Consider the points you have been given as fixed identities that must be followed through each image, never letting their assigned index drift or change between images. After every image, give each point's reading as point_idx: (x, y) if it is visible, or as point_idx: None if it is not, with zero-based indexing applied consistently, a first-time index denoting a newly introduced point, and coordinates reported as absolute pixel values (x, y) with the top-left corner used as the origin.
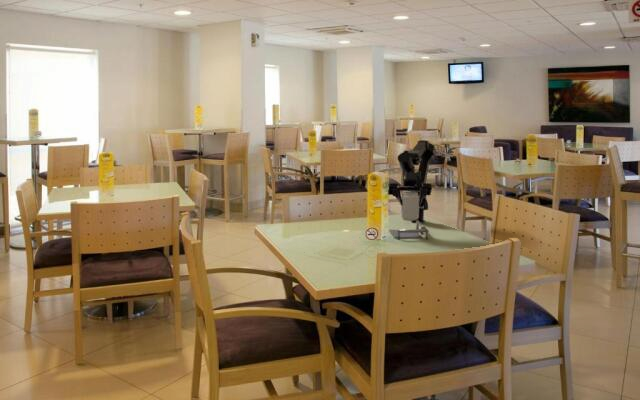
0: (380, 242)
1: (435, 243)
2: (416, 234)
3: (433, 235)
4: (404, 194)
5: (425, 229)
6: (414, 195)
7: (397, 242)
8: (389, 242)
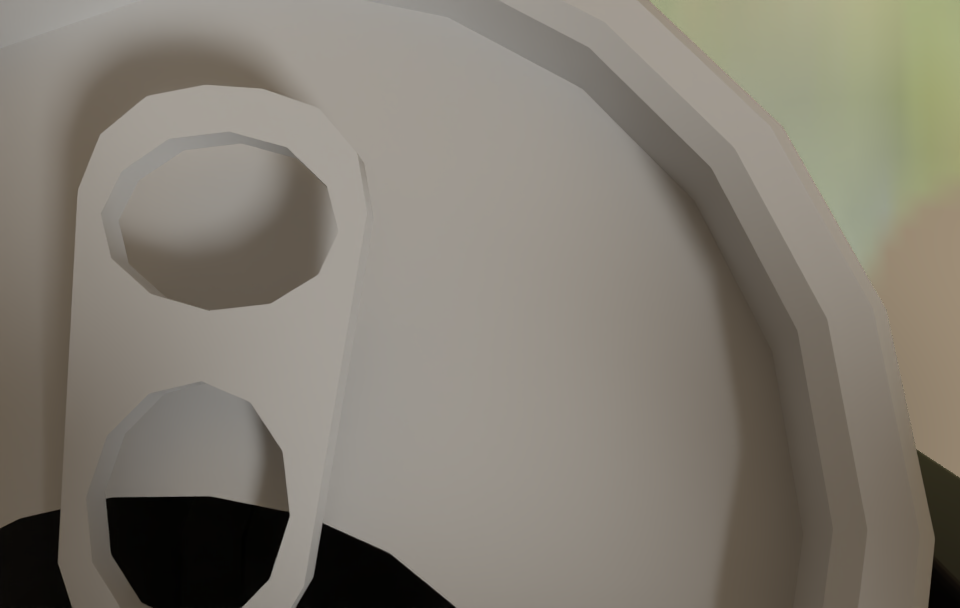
0: (955, 36)
1: None
2: None
3: None
4: (786, 303)
5: None
6: (68, 11)
7: (704, 46)
8: (822, 41)
